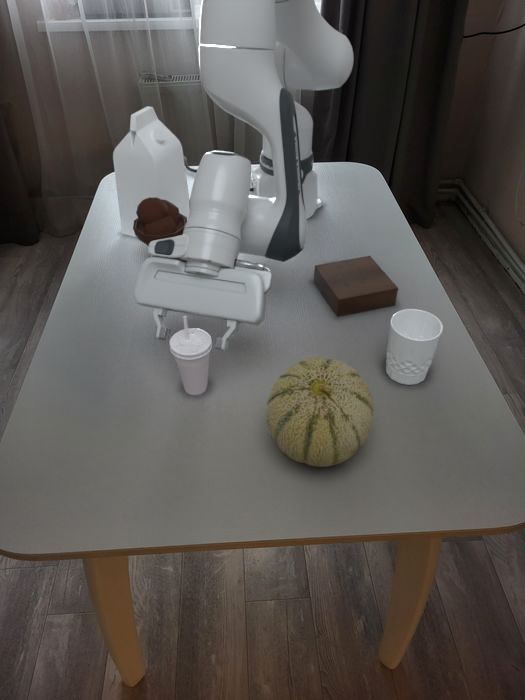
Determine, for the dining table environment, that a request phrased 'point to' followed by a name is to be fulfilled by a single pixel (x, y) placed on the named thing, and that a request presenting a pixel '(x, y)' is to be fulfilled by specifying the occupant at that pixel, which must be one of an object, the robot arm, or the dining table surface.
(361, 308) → the block
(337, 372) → the cantaloupe
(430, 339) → the white cup
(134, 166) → the milk
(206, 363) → the smoothie
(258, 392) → the dining table surface
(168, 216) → the ice cream bowl
